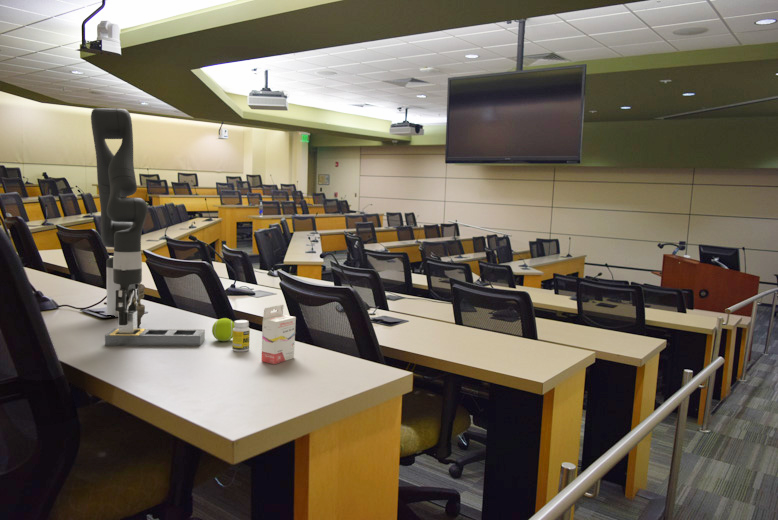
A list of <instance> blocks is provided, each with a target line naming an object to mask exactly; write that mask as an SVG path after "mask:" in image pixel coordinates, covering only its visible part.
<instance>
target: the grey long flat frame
mask: <svg viewBox="0 0 778 520" xmlns="http://www.w3.org/2000/svg"><path fill="white" fill-rule="evenodd" d="M205 331H206V330H205V329H201V328H200V329H198V328H197V329H196V328H195V329H186V328H185V329H183V328H182V329H181V328H180V329H179V328H178V329H177V328H176V329H175V328H174V329H172V328H171V329H170V328H169V329H167V328H164V329H163V328H162V329H161V328H137V333H136V334H119V333H118V328H113V329H112V330H111V331H109V332H108V333H106V334H105V335H104V346H105V347H110V346H111V347H113V346H115V347H119V346H120V347H127V346H128V347H130V346H131V347H201V345H202V344H203V343H204V341H205V337H206V336H205V333H206V332H205Z"/></svg>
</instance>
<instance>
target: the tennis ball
mask: <svg viewBox="0 0 778 520" xmlns="http://www.w3.org/2000/svg"><path fill="white" fill-rule="evenodd" d="M234 327H235V326H234V321H233V320H232V319H229V318H227V317H223V318H219V319H217V320H216V321H215V322H214V323H213V325H212V328H211V332H212V335H213V337H214V338H215V339H216V340H217V341H220V342H228V341H230V340H231V339H232V340H233V328H234Z"/></svg>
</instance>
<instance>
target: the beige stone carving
mask: <svg viewBox="0 0 778 520" xmlns="http://www.w3.org/2000/svg"><path fill="white" fill-rule="evenodd" d="M145 289H146V287H145V285H144V284H143V283H142V282H141V283H139V303H138V304H137V306H136V311H137V328H140V326H141V324H142V322H141V321H142V318H143V316H144V315H145V313H146V312H145V311H146V310H145V309H146V306H145V305H144V304H142V303H141V302H142V301H141V300H143V299H144V298H145Z"/></svg>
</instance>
